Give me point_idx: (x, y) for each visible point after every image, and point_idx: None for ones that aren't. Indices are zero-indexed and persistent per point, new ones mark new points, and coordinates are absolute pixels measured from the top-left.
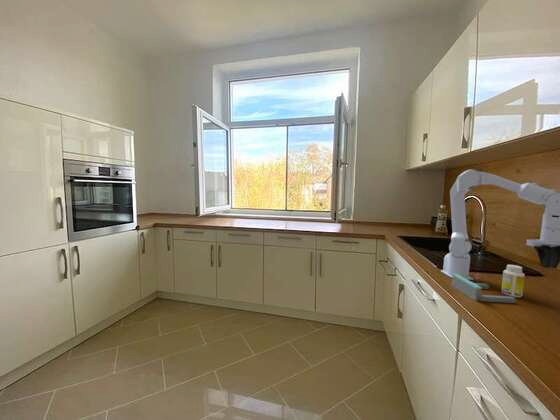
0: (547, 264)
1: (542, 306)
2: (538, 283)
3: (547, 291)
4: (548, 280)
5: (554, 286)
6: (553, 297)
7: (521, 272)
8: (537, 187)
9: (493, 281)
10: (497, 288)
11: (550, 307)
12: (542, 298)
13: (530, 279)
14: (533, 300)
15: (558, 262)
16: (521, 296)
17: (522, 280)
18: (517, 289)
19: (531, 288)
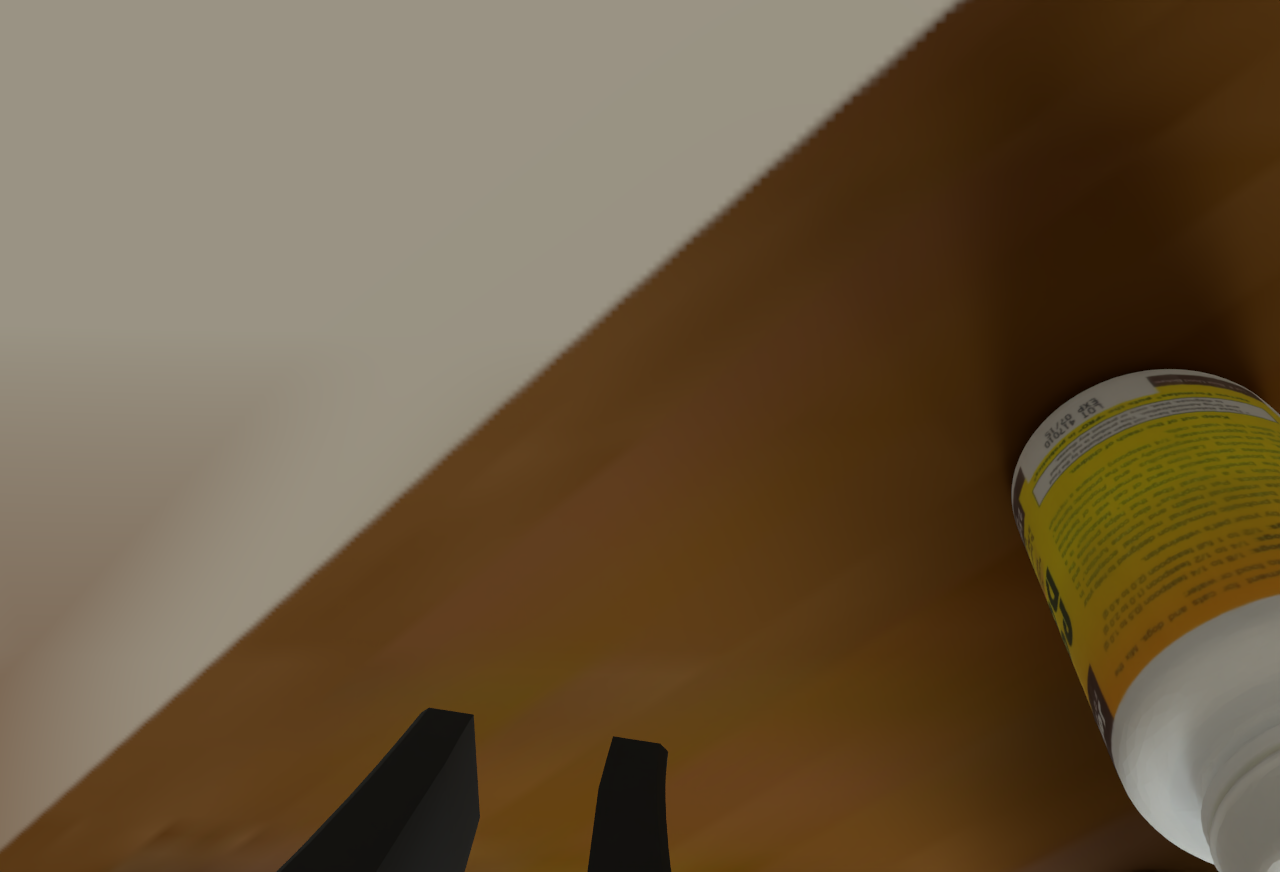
0: (663, 819)
1: (1151, 39)
2: (319, 754)
3: (433, 562)
4: (129, 808)
5: (202, 681)
6: (547, 391)
7: (1225, 720)
8: None
9: (865, 828)
10: None
11: (1040, 7)
12: (762, 353)
13: None
14: (1013, 276)
15: (346, 834)
16: (1104, 381)
17: (1276, 528)
18: (1276, 428)
19: (561, 643)
